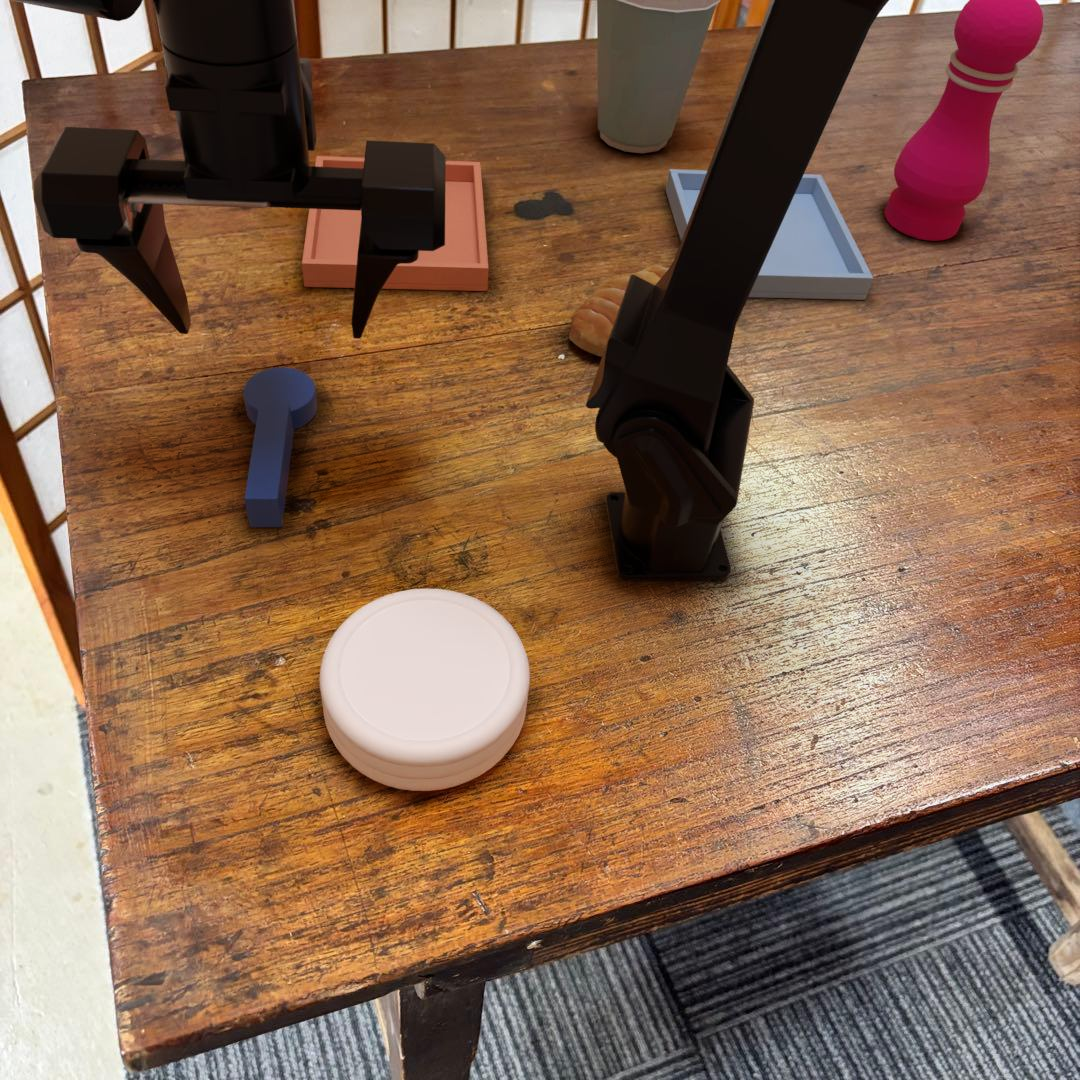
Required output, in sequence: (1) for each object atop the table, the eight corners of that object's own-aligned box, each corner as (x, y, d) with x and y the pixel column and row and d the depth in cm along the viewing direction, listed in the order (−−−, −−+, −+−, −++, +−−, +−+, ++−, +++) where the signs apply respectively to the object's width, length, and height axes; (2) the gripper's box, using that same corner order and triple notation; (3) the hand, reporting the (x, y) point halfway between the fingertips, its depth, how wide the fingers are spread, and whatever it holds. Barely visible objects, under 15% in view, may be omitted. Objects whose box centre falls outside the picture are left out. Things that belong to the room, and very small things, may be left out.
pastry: (607, 380, 69) (615, 334, 66) (545, 330, 72) (549, 284, 69) (704, 334, 73) (715, 289, 70) (641, 289, 77) (649, 244, 74)
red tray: (487, 291, 75) (488, 267, 73) (304, 287, 73) (301, 263, 72) (479, 184, 85) (480, 161, 83) (318, 178, 83) (316, 155, 82)
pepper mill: (930, 254, 83) (1039, -6, 68) (861, 213, 87) (950, -42, 72) (980, 228, 86) (1094, -24, 72) (911, 190, 90) (1007, -58, 75)
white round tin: (472, 600, 56) (474, 558, 53) (561, 745, 50) (568, 707, 47) (295, 665, 52) (288, 623, 49) (369, 829, 46) (366, 792, 44)
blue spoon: (305, 527, 58) (301, 498, 56) (226, 527, 58) (219, 498, 56) (319, 386, 66) (316, 357, 64) (250, 385, 66) (245, 356, 64)
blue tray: (865, 300, 78) (873, 277, 76) (697, 296, 76) (702, 273, 75) (814, 195, 88) (821, 174, 86) (665, 190, 86) (669, 168, 85)
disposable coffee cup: (560, 148, 90) (579, -36, 79) (594, 99, 97) (616, -77, 86) (677, 176, 88) (713, -8, 77) (702, 124, 95) (739, -52, 84)
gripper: (447, -22, 50) (444, 254, 62) (53, -46, 48) (126, 243, 60) (446, 80, 43) (443, 371, 54) (-18, 56, 41) (81, 363, 53)
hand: (272, 331), depth 56 cm, fingers open, 9 cm apart
